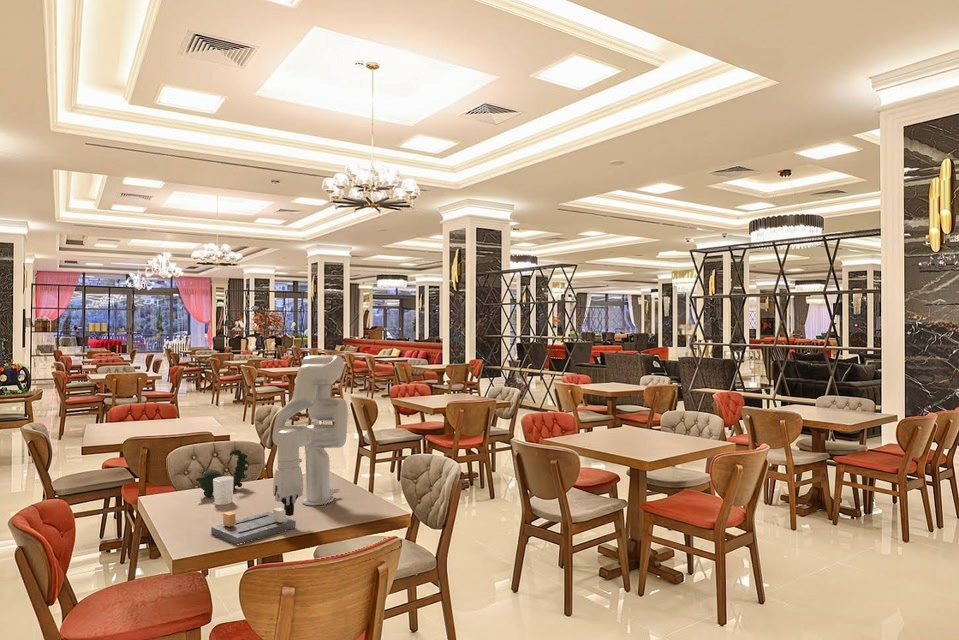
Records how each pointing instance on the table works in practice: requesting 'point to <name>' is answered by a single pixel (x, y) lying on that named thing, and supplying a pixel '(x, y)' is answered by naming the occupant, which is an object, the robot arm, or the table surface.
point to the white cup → (223, 490)
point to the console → (252, 528)
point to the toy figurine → (209, 475)
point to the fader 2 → (279, 515)
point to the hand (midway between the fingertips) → (289, 514)
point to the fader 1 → (229, 519)
